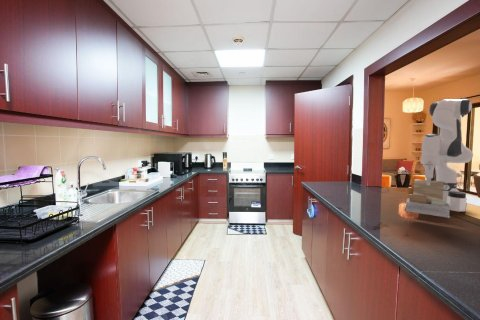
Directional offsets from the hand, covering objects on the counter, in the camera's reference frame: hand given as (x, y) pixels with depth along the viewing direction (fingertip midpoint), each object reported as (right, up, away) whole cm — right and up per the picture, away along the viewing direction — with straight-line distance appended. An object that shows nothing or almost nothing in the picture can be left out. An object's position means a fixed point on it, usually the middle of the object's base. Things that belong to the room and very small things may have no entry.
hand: (428, 184), depth 145 cm
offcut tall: (-6, -16, +1) cm, 17 cm away
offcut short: (+2, -16, -5) cm, 17 cm away
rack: (-2, -17, -1) cm, 18 cm away
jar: (+19, -17, +3) cm, 26 cm away
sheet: (0, -16, +1) cm, 16 cm away
